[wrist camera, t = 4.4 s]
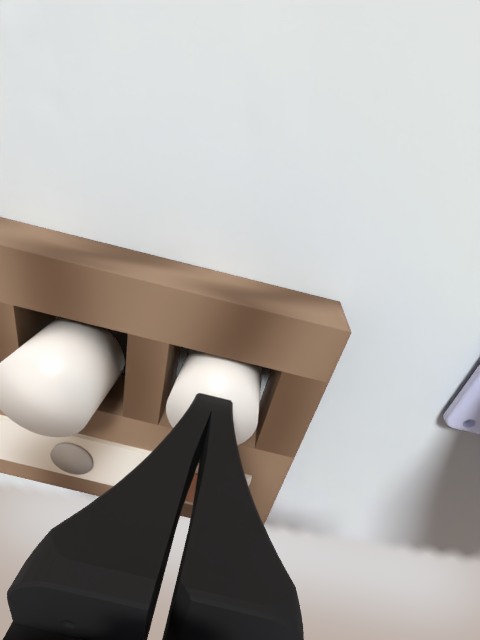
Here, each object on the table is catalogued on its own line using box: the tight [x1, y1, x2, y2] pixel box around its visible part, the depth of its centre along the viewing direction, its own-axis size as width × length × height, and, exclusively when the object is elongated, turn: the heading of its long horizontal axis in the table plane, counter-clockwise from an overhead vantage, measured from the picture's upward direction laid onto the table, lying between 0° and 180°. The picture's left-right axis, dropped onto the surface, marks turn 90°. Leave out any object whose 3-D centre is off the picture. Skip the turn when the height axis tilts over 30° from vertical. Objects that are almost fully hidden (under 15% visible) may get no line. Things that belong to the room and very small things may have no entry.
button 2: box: [166, 349, 262, 445], centre depth 14 cm, size 4×4×3 cm
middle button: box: [0, 317, 124, 437], centre depth 13 cm, size 4×4×3 cm
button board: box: [0, 217, 351, 525], centre depth 15 cm, size 20×13×3 cm, turn 77°
